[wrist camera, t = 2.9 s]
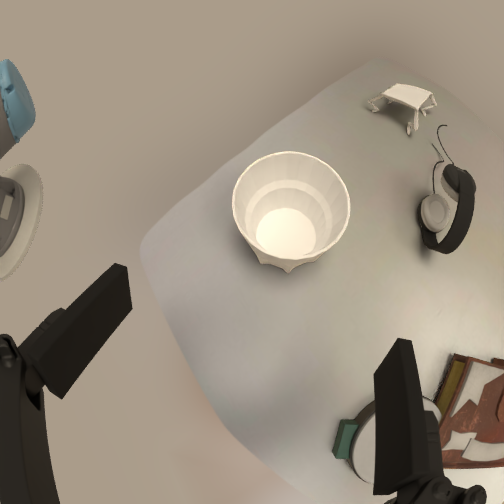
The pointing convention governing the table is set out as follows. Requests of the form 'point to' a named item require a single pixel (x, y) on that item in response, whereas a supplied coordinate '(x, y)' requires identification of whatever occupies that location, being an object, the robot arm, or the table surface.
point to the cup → (290, 208)
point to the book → (472, 414)
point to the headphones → (448, 209)
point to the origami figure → (407, 100)
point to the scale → (364, 440)
